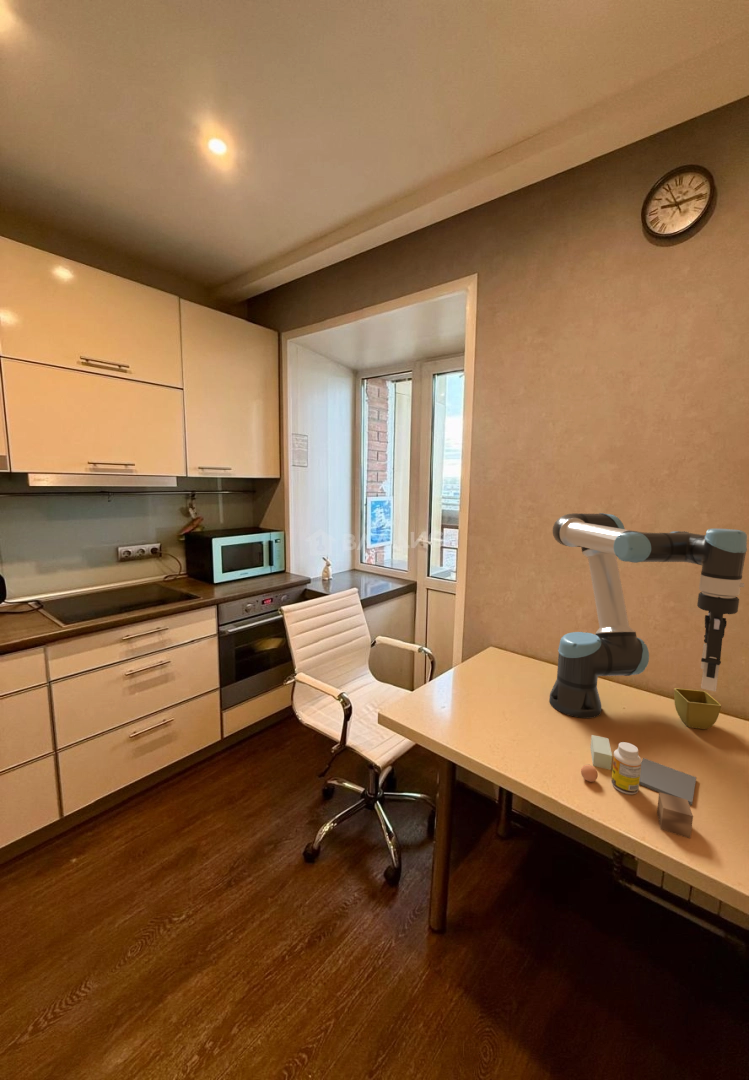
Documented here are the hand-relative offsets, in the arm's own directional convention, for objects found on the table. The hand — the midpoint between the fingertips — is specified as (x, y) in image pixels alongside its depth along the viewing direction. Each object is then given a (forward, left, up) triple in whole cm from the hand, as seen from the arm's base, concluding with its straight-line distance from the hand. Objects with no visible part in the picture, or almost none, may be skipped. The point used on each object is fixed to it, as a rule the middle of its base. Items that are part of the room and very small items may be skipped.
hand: (707, 679), depth 103 cm
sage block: (-19, -11, -24) cm, 33 cm away
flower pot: (-2, +26, -24) cm, 35 cm away
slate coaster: (-5, -10, -24) cm, 27 cm away
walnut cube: (-2, -25, -24) cm, 35 cm away
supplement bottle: (-12, -19, -24) cm, 33 cm away
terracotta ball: (-19, -22, -22) cm, 37 cm away
